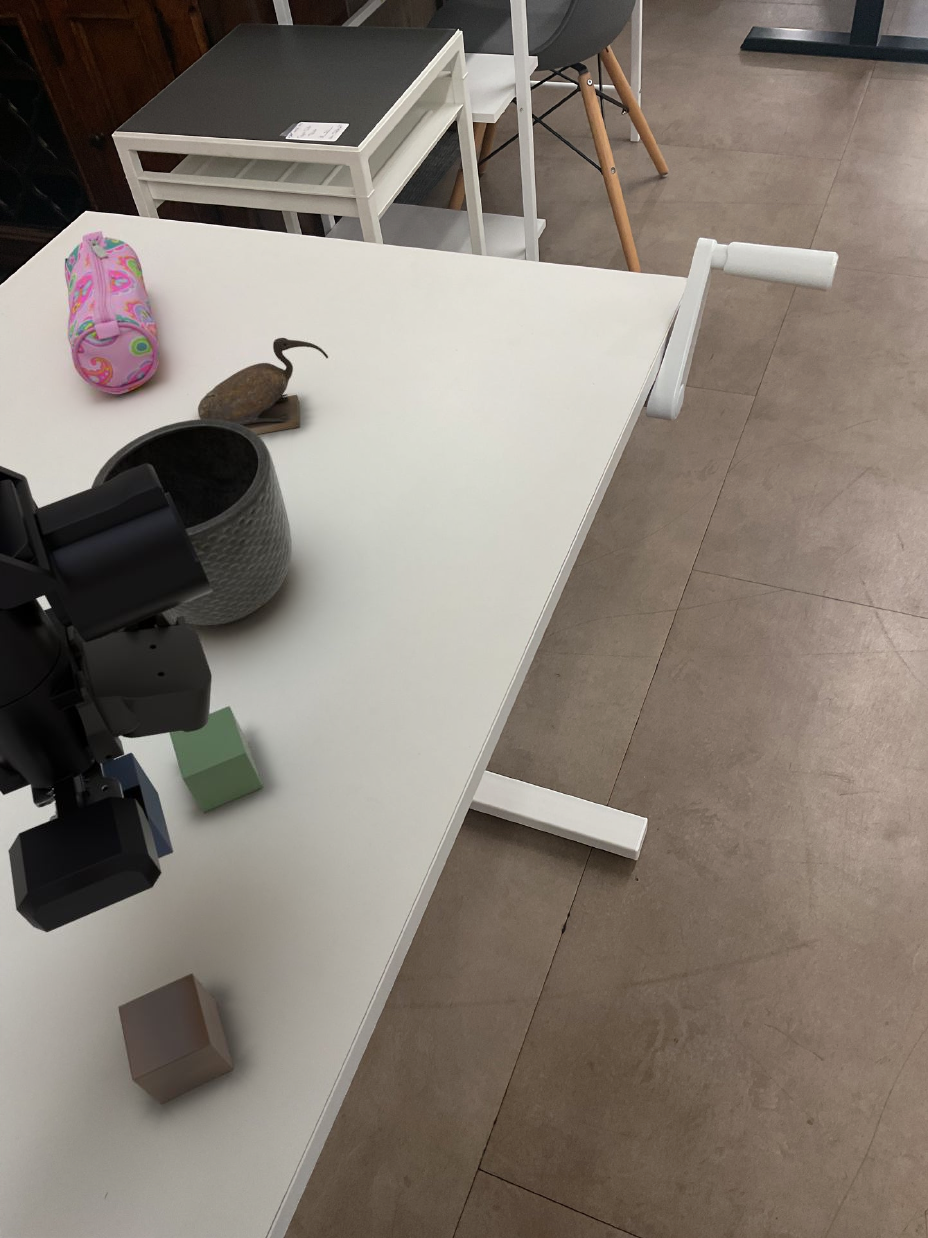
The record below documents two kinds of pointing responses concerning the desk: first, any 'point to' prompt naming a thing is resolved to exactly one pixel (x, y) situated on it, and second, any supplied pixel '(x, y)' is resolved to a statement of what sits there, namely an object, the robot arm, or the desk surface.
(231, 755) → the green block
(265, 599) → the planter
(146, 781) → the blue block
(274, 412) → the figurine
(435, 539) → the desk surface
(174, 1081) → the near walnut block
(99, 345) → the pencil case
